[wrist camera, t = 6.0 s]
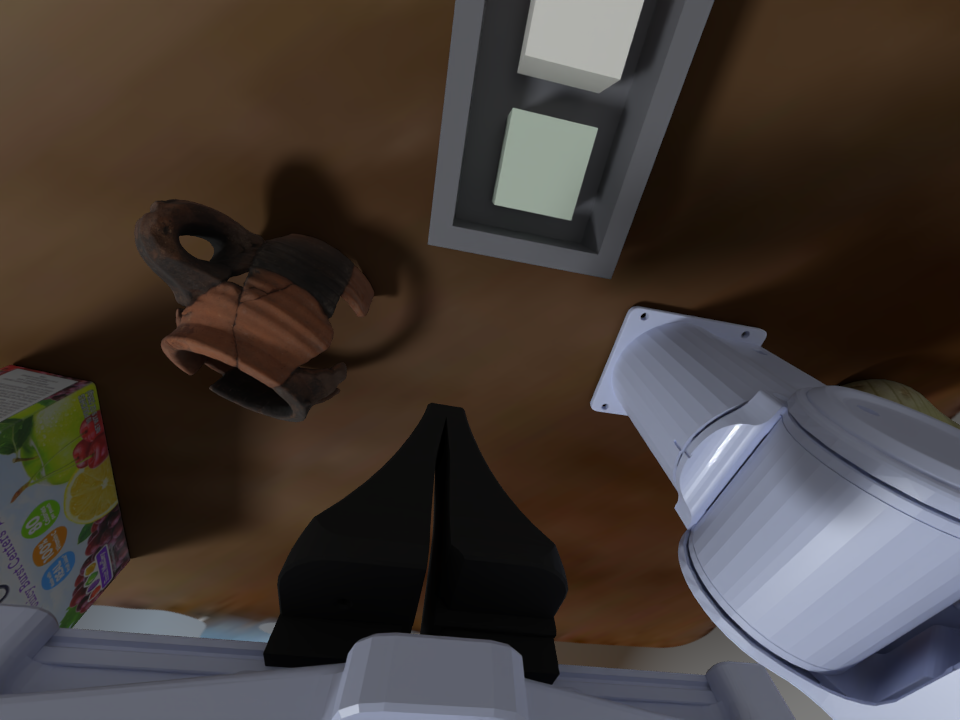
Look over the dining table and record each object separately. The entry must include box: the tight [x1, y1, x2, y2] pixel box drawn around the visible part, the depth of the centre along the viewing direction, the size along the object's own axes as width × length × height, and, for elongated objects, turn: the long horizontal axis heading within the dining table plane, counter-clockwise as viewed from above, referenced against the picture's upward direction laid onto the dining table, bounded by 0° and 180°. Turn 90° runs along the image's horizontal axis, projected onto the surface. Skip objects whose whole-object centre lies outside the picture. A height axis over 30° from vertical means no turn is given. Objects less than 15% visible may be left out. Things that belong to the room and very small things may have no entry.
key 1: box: [492, 108, 598, 220], centre depth 16 cm, size 4×4×2 cm
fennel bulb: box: [842, 379, 960, 429], centre depth 20 cm, size 6×5×12 cm
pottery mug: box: [134, 199, 374, 422], centre depth 19 cm, size 12×10×8 cm
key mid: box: [517, 0, 644, 93], centre depth 13 cm, size 4×4×2 cm
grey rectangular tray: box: [428, 0, 714, 279], centre depth 14 cm, size 9×18×4 cm, turn 169°
